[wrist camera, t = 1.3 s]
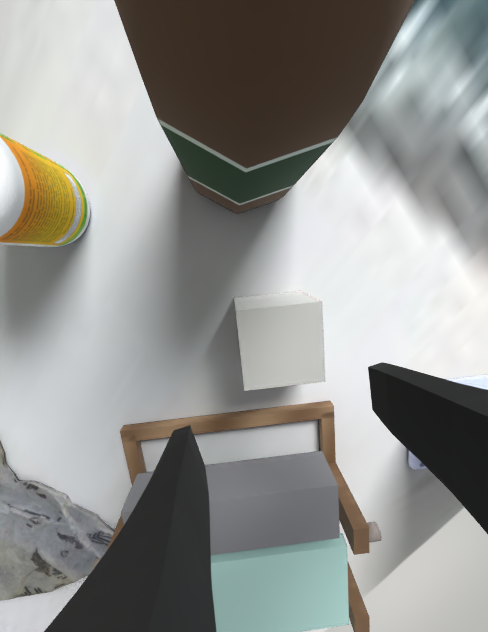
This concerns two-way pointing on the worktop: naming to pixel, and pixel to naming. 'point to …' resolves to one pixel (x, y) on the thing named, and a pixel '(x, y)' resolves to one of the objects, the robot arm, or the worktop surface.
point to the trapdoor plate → (273, 544)
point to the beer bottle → (256, 83)
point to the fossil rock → (44, 537)
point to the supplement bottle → (38, 199)
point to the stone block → (280, 339)
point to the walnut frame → (324, 411)
